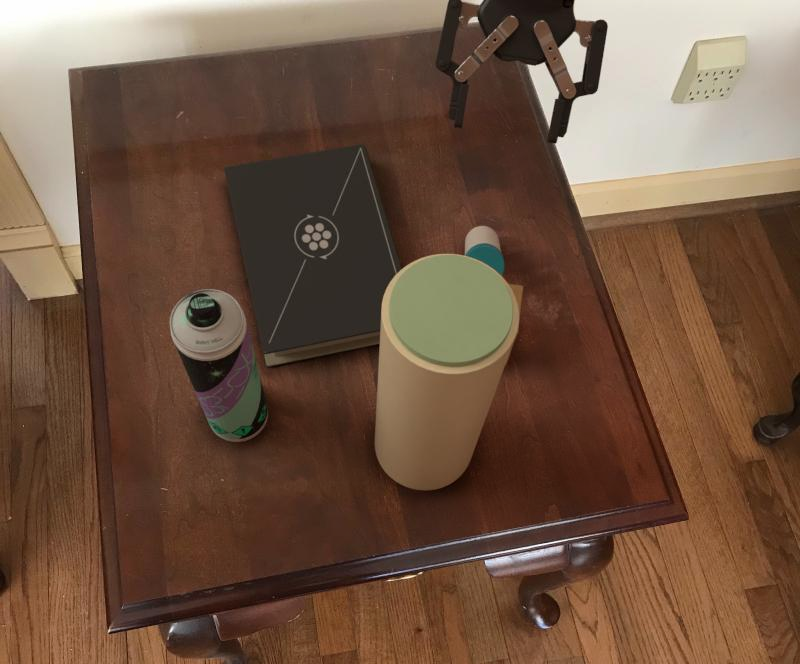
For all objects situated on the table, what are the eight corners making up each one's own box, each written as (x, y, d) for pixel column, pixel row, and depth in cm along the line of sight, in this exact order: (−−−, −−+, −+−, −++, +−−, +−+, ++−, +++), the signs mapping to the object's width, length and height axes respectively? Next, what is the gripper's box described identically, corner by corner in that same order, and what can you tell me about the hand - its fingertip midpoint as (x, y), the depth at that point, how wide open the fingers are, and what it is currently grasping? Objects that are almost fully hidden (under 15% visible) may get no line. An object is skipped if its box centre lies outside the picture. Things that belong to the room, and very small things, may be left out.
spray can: (195, 416, 76) (144, 305, 58) (238, 376, 78) (201, 256, 60) (238, 454, 75) (199, 352, 57) (280, 412, 77) (256, 300, 58)
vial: (464, 237, 85) (478, 167, 76) (499, 242, 85) (517, 173, 75) (450, 329, 81) (463, 267, 71) (487, 334, 81) (505, 273, 71)
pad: (447, 238, 56) (447, 233, 56) (536, 312, 54) (538, 307, 54) (363, 310, 54) (363, 306, 53) (454, 390, 52) (455, 386, 51)
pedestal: (421, 380, 79) (446, 230, 57) (493, 443, 76) (547, 312, 55) (354, 443, 76) (352, 310, 54) (425, 510, 74) (454, 401, 52)
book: (418, 337, 81) (420, 321, 78) (266, 368, 78) (263, 353, 76) (366, 162, 89) (366, 142, 86) (227, 185, 87) (223, 166, 84)
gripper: (456, -89, 66) (424, 124, 72) (635, -62, 66) (588, 150, 71) (458, -72, 73) (429, 121, 79) (619, -47, 73) (578, 145, 78)
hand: (505, 135), depth 75 cm, fingers open, 8 cm apart
